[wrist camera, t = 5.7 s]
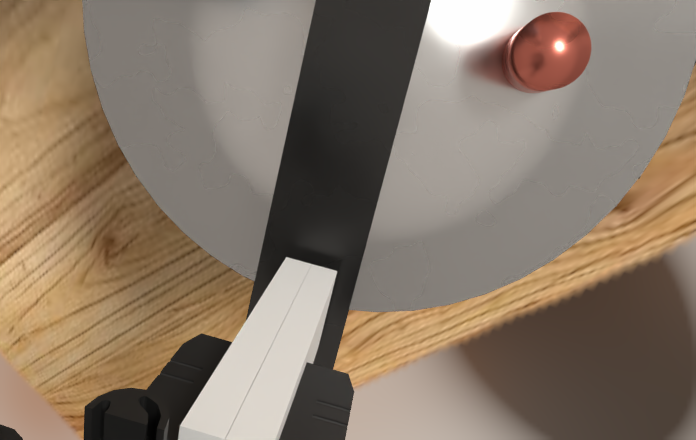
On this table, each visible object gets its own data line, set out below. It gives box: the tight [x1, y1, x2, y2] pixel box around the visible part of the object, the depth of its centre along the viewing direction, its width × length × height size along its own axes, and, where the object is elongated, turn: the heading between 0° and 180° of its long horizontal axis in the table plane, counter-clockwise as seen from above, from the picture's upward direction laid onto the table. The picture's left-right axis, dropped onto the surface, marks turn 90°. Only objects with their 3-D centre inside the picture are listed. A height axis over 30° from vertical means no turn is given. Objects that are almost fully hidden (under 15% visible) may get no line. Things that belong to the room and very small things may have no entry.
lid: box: [82, 0, 696, 370], centre depth 15 cm, size 19×26×3 cm
